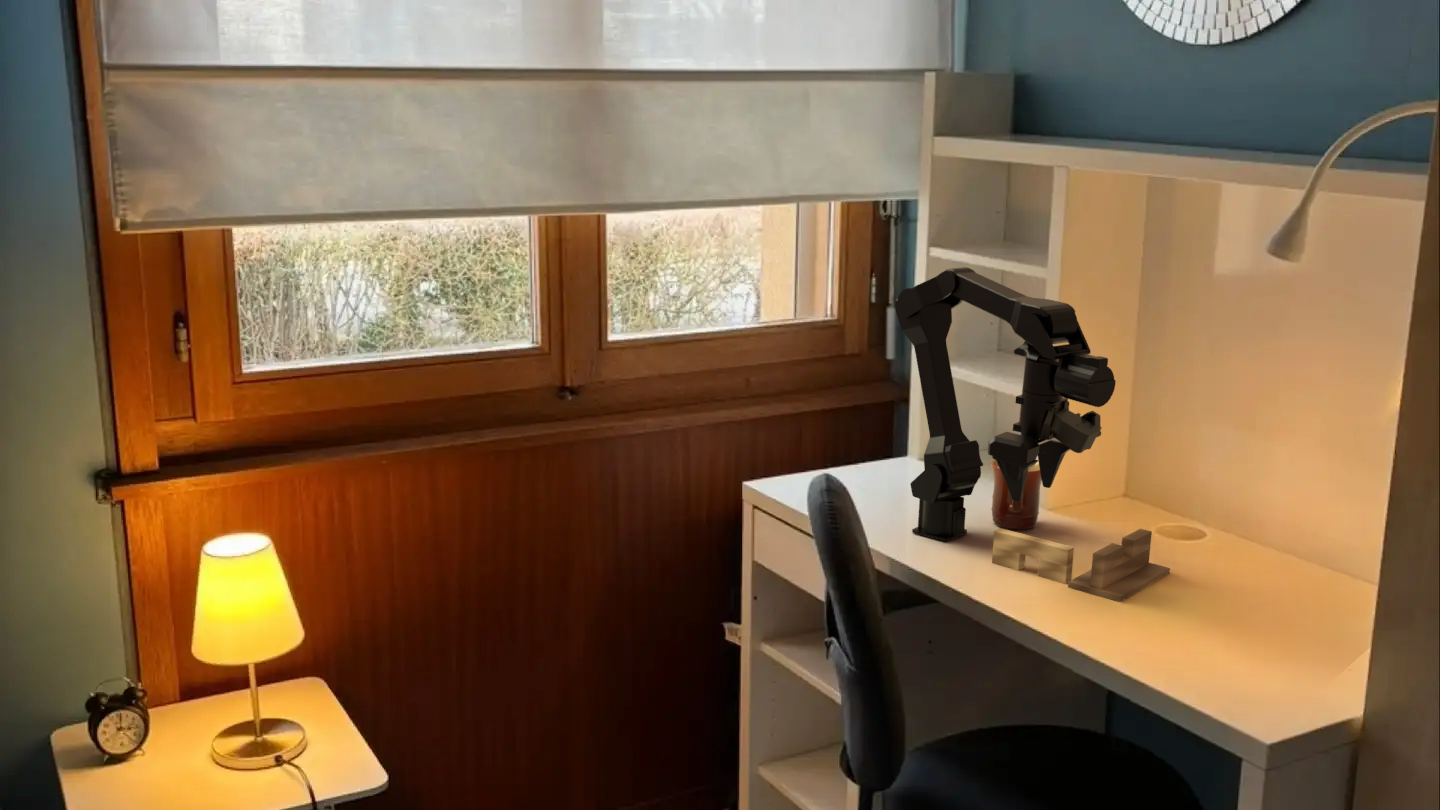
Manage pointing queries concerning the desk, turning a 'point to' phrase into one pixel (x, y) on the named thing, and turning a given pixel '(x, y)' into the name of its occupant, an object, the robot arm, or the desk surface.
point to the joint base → (1121, 568)
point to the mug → (1011, 511)
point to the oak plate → (1033, 554)
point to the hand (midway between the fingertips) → (1031, 494)
